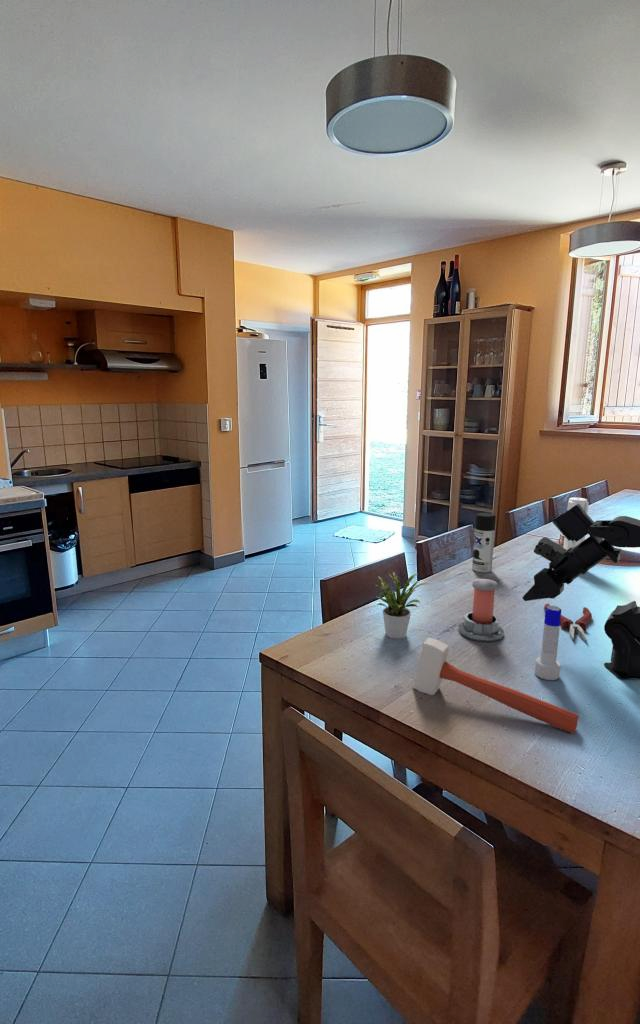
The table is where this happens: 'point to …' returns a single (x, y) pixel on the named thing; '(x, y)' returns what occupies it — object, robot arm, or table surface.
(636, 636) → the robot arm
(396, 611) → the house plant
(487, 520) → the spray can
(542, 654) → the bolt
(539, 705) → the mallet
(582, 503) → the white tall cylinder
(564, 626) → the pliers
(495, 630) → the pipe socket
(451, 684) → the table surface
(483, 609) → the orange capped cylinder
